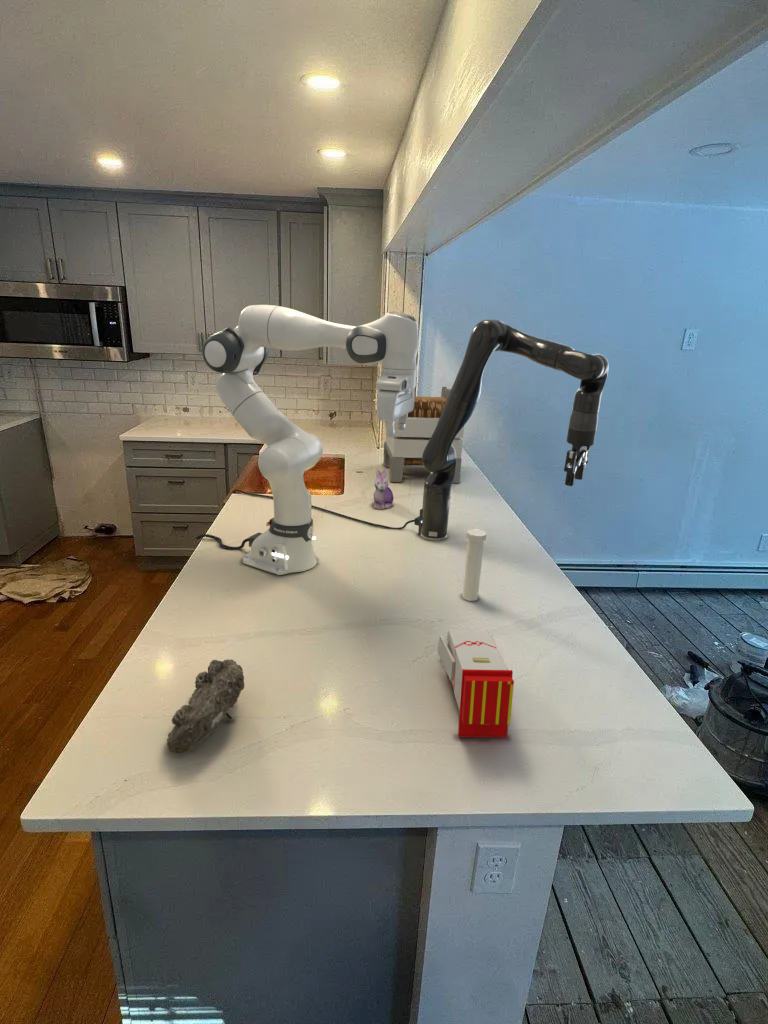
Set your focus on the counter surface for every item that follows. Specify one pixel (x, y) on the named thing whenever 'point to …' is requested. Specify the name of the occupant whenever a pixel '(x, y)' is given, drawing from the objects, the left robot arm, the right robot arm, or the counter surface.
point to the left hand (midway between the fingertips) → (396, 433)
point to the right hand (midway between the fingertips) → (573, 482)
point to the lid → (476, 535)
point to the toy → (478, 682)
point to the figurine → (382, 491)
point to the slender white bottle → (472, 570)
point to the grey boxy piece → (418, 437)
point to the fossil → (206, 705)
